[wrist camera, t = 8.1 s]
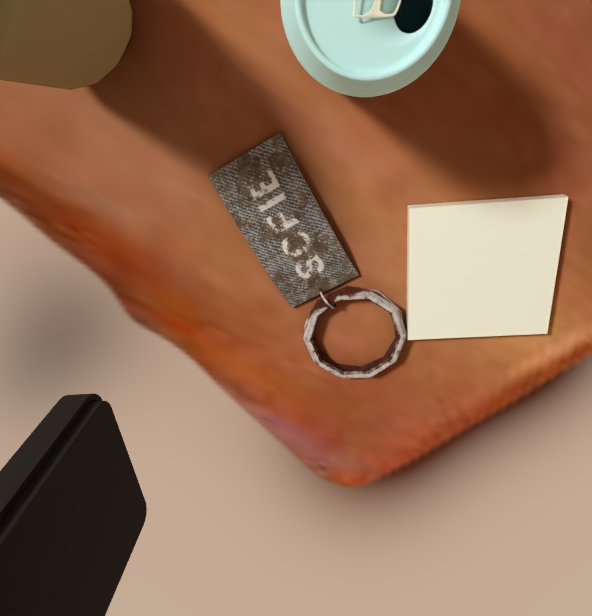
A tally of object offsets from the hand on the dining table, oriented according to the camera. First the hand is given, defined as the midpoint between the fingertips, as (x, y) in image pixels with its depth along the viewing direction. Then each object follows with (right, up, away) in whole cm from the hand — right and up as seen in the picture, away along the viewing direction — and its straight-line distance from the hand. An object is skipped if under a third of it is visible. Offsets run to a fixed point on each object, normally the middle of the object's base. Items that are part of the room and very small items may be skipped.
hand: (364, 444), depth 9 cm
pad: (+12, +5, +26) cm, 29 cm away
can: (+2, +19, +20) cm, 28 cm away
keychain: (0, +6, +27) cm, 28 cm away
